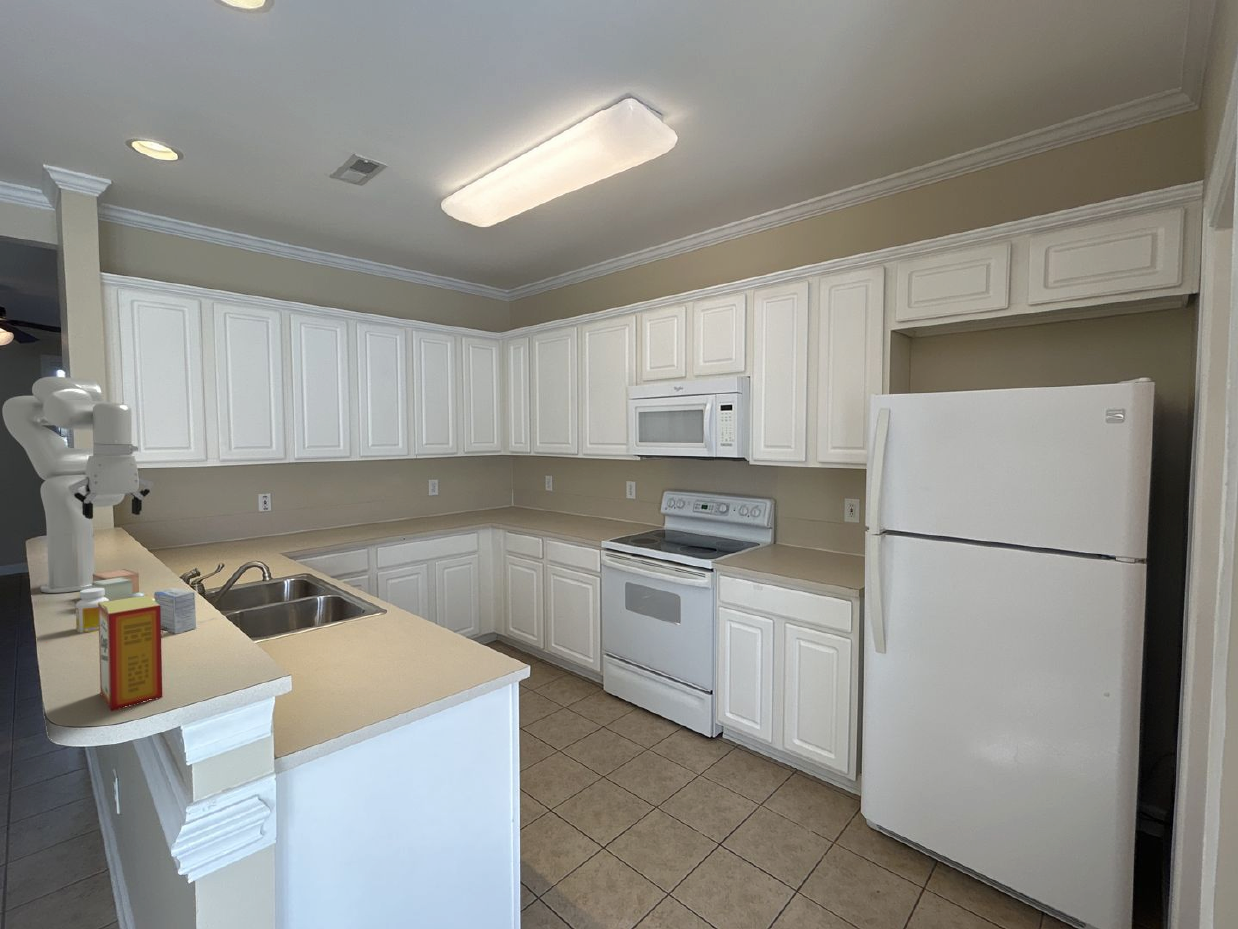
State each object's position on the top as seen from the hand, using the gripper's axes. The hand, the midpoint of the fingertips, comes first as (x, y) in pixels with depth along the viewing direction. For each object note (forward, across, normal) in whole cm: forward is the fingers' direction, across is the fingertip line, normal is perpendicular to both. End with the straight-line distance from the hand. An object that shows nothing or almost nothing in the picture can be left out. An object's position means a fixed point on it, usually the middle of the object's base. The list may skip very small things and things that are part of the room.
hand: (113, 516), depth 151 cm
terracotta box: (+21, 0, +3) cm, 21 cm away
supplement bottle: (+21, +13, +29) cm, 38 cm away
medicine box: (+21, +2, +40) cm, 45 cm away
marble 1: (+19, 0, +17) cm, 26 cm away
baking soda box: (+19, +20, +72) cm, 77 cm away
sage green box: (+20, +4, +11) cm, 24 cm away
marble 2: (+19, 0, +22) cm, 29 cm away
